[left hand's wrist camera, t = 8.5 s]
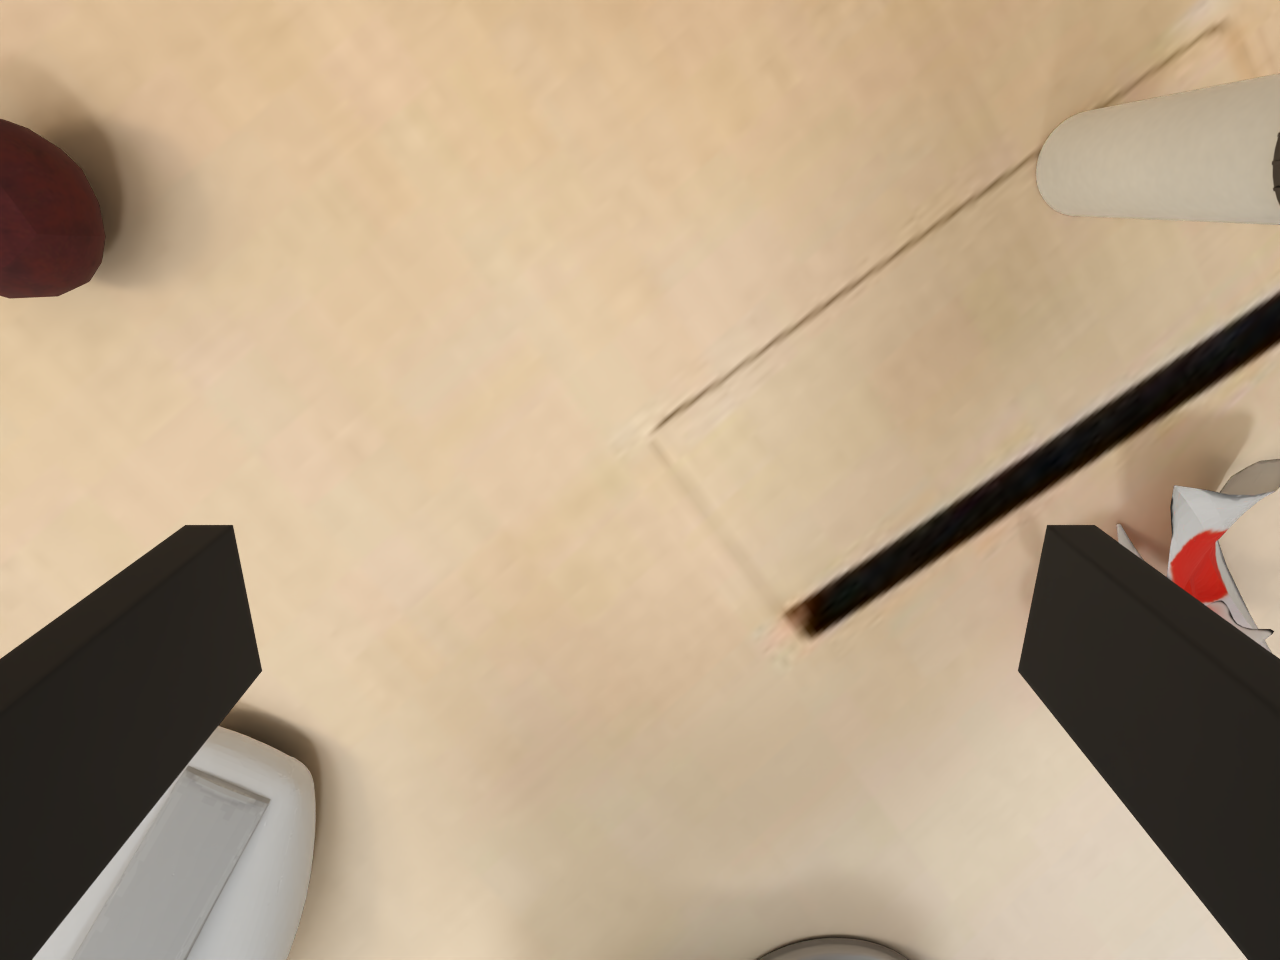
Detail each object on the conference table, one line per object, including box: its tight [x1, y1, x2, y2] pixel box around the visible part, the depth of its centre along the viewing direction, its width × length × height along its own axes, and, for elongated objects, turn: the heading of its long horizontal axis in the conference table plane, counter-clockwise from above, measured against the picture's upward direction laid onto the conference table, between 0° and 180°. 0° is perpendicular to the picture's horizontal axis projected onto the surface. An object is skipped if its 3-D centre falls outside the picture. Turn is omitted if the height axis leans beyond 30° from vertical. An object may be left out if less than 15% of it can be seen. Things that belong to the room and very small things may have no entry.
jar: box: [1036, 73, 1280, 225], centre depth 28 cm, size 5×5×17 cm
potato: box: [0, 119, 105, 298], centre depth 33 cm, size 7×8×7 cm
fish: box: [1116, 459, 1280, 653], centre depth 39 cm, size 11×16×10 cm
